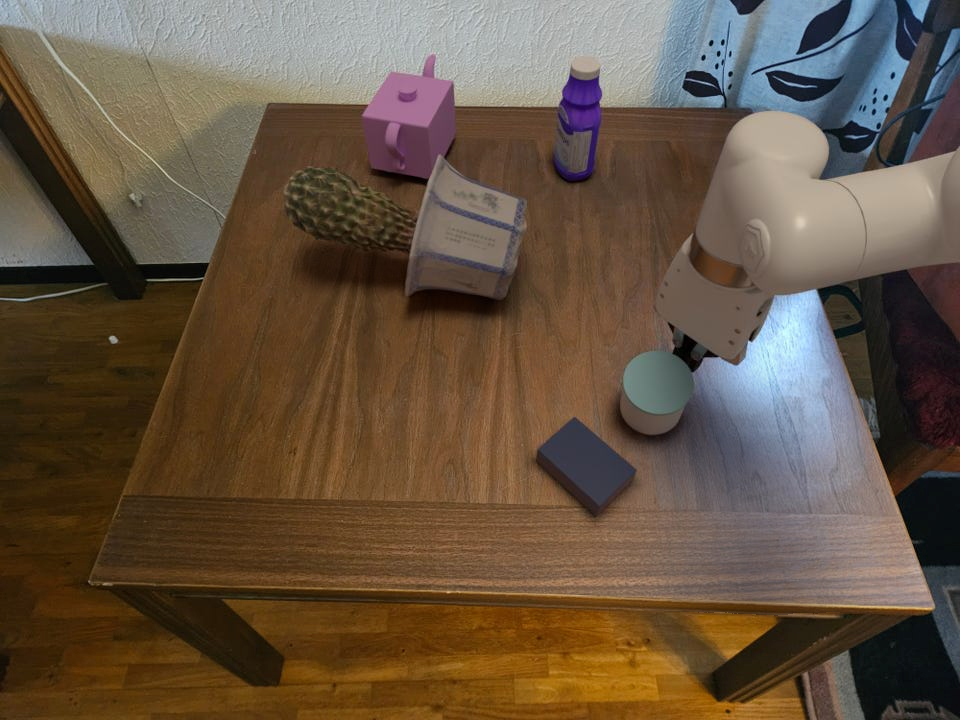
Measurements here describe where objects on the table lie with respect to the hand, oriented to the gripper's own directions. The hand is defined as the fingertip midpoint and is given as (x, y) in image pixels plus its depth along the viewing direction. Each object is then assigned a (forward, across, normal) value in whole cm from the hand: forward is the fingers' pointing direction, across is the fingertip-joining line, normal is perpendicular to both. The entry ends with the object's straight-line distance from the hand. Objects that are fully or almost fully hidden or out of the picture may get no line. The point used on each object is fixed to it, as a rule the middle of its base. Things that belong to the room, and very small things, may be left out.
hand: (683, 366), depth 72 cm
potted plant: (+5, +36, +10) cm, 38 cm away
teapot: (+5, +56, -7) cm, 57 cm away
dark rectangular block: (+5, 0, +16) cm, 17 cm away
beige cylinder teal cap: (+4, 0, +9) cm, 10 cm away
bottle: (+5, +36, -22) cm, 43 cm away
